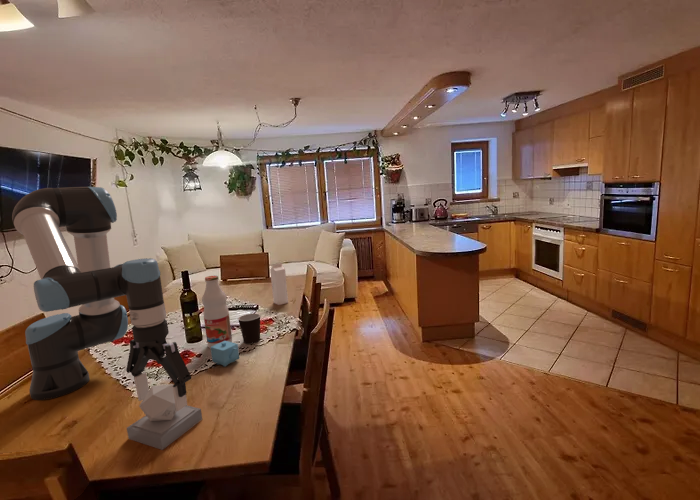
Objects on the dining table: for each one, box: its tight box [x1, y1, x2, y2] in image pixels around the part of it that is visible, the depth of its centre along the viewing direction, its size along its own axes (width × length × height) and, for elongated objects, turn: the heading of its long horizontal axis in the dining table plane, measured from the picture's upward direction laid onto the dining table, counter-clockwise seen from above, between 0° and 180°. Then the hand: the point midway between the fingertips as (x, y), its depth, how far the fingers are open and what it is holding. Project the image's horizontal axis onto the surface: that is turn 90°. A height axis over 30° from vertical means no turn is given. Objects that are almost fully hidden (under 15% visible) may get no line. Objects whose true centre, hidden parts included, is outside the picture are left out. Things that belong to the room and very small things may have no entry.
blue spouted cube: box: [210, 341, 240, 368], centre depth 125 cm, size 12×6×8 cm, turn 56°
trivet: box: [126, 404, 203, 451], centre depth 90 cm, size 12×12×3 cm
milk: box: [269, 262, 289, 306], centre depth 193 cm, size 6×6×22 cm
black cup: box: [237, 313, 261, 345], centre depth 145 cm, size 12×9×10 cm
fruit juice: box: [201, 274, 233, 349], centre depth 140 cm, size 9×9×28 cm
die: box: [138, 383, 177, 421], centre depth 89 cm, size 8×9×10 cm
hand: (162, 402), depth 89 cm, fingers open, 13 cm apart
